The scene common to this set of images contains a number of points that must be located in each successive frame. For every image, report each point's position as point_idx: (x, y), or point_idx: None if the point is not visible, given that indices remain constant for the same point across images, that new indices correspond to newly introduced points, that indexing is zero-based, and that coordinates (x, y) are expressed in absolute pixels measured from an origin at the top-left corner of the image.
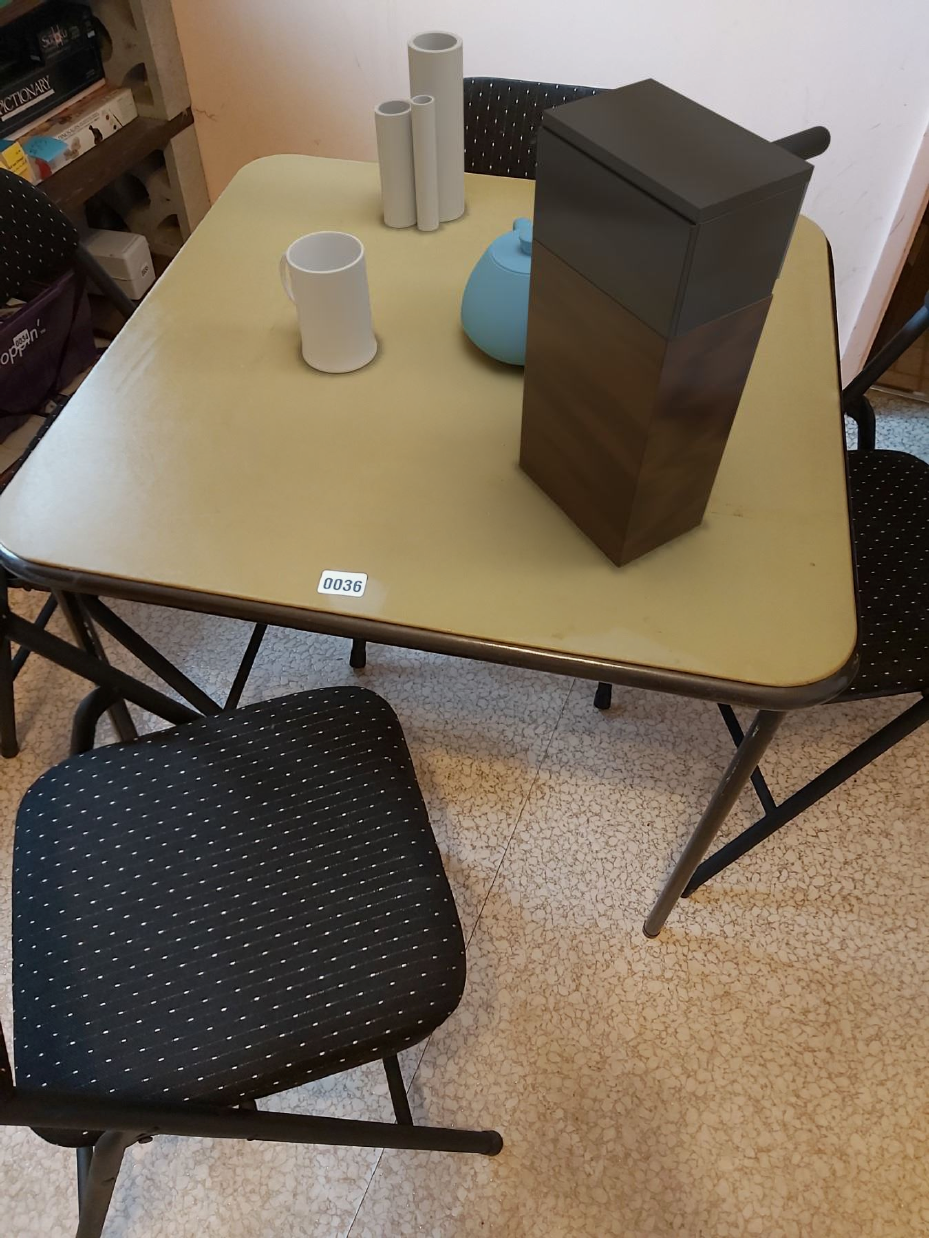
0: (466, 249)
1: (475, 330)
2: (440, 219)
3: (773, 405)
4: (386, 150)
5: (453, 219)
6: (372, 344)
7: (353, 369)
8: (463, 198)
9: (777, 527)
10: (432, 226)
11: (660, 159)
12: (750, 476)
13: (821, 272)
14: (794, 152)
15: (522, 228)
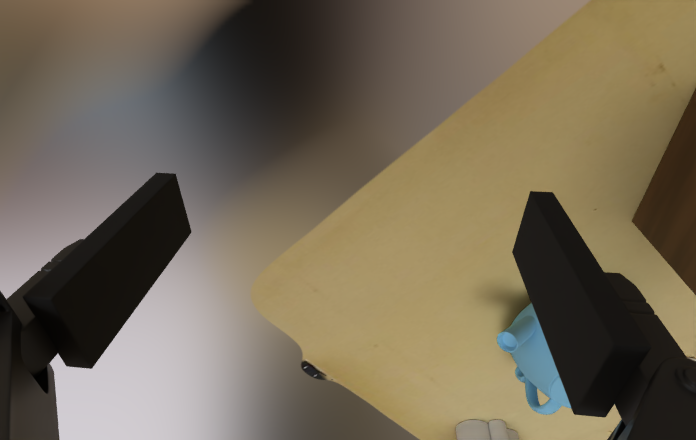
0: (498, 398)
1: None
2: (486, 424)
3: (482, 157)
4: None
5: (476, 420)
6: None
7: (692, 358)
8: (465, 431)
9: (653, 29)
10: (499, 422)
11: None
12: (596, 100)
13: (286, 252)
14: None
15: (557, 406)
